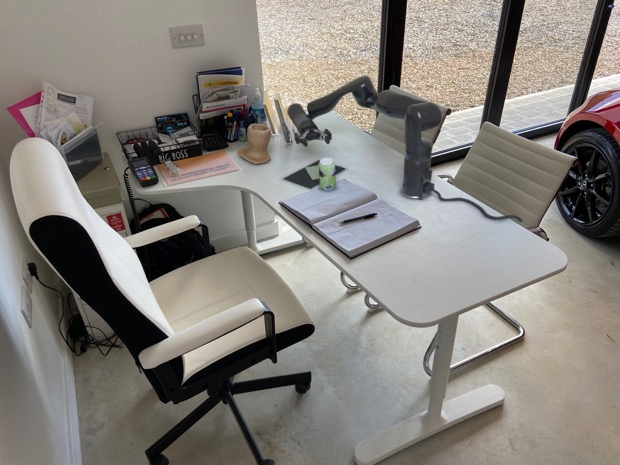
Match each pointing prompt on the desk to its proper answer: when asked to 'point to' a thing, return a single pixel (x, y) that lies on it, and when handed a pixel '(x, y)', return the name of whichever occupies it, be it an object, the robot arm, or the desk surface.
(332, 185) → the beverage can
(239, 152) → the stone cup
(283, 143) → the desk surface
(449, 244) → the desk surface
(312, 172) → the desk mat
